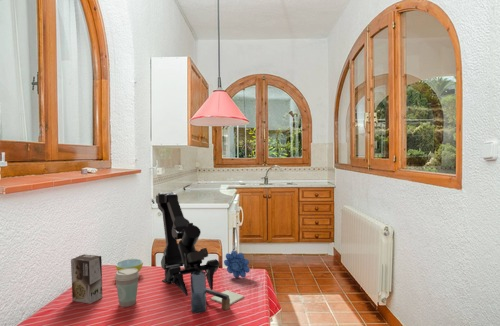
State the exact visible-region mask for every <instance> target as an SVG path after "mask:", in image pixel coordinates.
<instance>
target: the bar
mask: <svg viewBox="0 0 500 326" xmlns="http://www.w3.org/2000/svg"><path fill="white" fill-rule="evenodd" d="M206 294H209V295H211V296H213V297H214V296H217V297H220V298H223V299H225V300H228V299H229V295H226V294H223V293H222V292H220V291H216V290H214V289H212V290H211V289H210V288H207V287H206Z"/></svg>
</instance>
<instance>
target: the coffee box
mask: <svg viewBox="0 0 500 326" xmlns="http://www.w3.org/2000/svg"><path fill="white" fill-rule="evenodd" d="M102 266H103V264H102V255H94V254H81V255H78V256H75V257H74V258H71V259H70V268H71V270H70V271H71V292H72V294H71V296H72V302H77V303H84V304H92V303H95V302H97V301H98V300H100V299H102V298H103V270H102V269H103V268H102Z"/></svg>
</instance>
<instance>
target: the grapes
mask: <svg viewBox="0 0 500 326" xmlns="http://www.w3.org/2000/svg"><path fill="white" fill-rule="evenodd" d="M223 264H224V265H225V267H226V271H227V273H229V274H232V276H233V277H234V278H240V277H241V278H245V277H246V275H247V274H248V273H250V271H251V269H250V267H249V264H250V261H249V259H247V258H245V255H244V253H242V252H237V250H232V251H231V252H228V253H226V254H225V260H224V261H223Z"/></svg>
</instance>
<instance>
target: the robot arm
mask: <svg viewBox="0 0 500 326" xmlns="http://www.w3.org/2000/svg"><path fill="white" fill-rule="evenodd" d="M155 203H156V204H157V208H158V209H159V211H160V212H161V213H162V219H163V220H162V221H163V229H164V237H165V244H166V245H165V247H164V249H163V255H162V258H161V261H160V267H161V269H163V270H164V278H163V279H162V280H161V282H163V283H166V284H169V285H175V286H177V287H178V288H179V289H180V291H181V292H182V293H183V294H184V295H185V297H187V296H189V294H188V293H189V292H188V290H187V286H186V283H185V280H184V275H188V274H191V273H192V272H194V271H204V272H205V273H206V281H207V283H208V287H209V289H211V290H214V288H213V287H214V275H215V273H216V272H217V270H218V269H219V268H220V265H221V264H220V261H219V260H218V259H216V258H215V259H209V260H207V261H206V263H205V264H203V265H202V263H203V261H204V260H205V258H208V257H209V251H208V248H207V247H202V248H201V249H200V250H197V249H196V244H197V243H198V240H199V237H200V235H201V228H199V227H198V226H196V225H194V223H193V222H190V221H189V219H187V218H186V217H185V216H184V212H183V210H182V207H181V205H180V202H179V195H178V194H177V193H174V192H173V191H167V192H158V194H157V195H156V196H155ZM178 240H179V242H178ZM181 267H184V268H182V269H181Z"/></svg>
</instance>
